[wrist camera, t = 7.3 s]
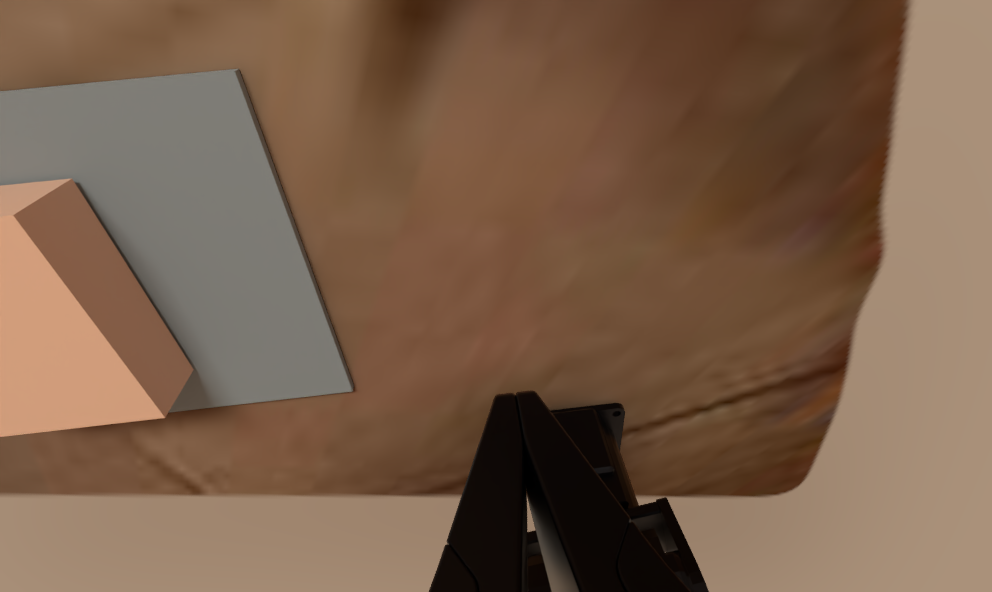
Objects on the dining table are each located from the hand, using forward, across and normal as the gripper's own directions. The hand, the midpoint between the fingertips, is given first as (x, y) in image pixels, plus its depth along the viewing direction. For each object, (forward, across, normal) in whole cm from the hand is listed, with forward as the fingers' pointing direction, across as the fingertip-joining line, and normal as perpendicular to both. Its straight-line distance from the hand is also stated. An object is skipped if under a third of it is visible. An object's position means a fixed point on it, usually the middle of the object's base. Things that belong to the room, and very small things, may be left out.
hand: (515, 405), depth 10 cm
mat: (+12, +18, +3) cm, 22 cm away
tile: (+10, +15, +3) cm, 18 cm away
